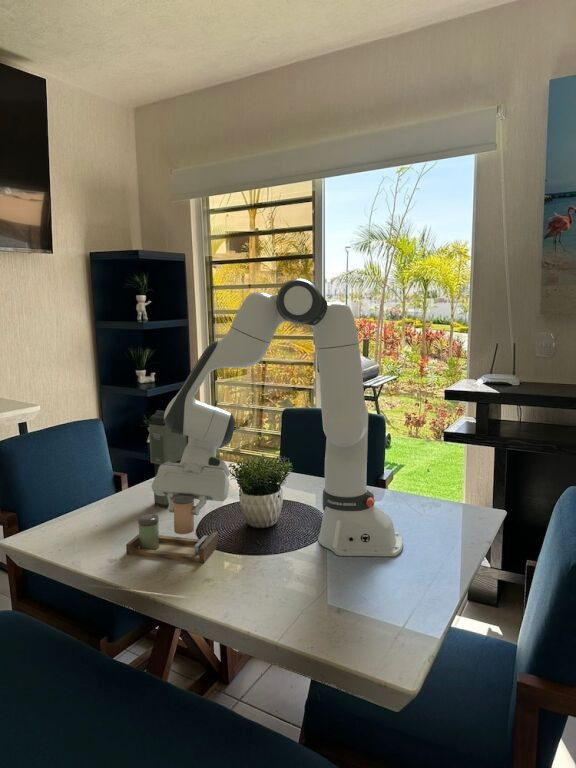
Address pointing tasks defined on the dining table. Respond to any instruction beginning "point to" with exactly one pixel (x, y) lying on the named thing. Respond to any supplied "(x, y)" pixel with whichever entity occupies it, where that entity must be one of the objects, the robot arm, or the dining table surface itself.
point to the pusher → (200, 544)
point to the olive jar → (149, 532)
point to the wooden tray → (176, 548)
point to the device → (164, 448)
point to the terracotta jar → (183, 513)
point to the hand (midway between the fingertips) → (182, 512)
